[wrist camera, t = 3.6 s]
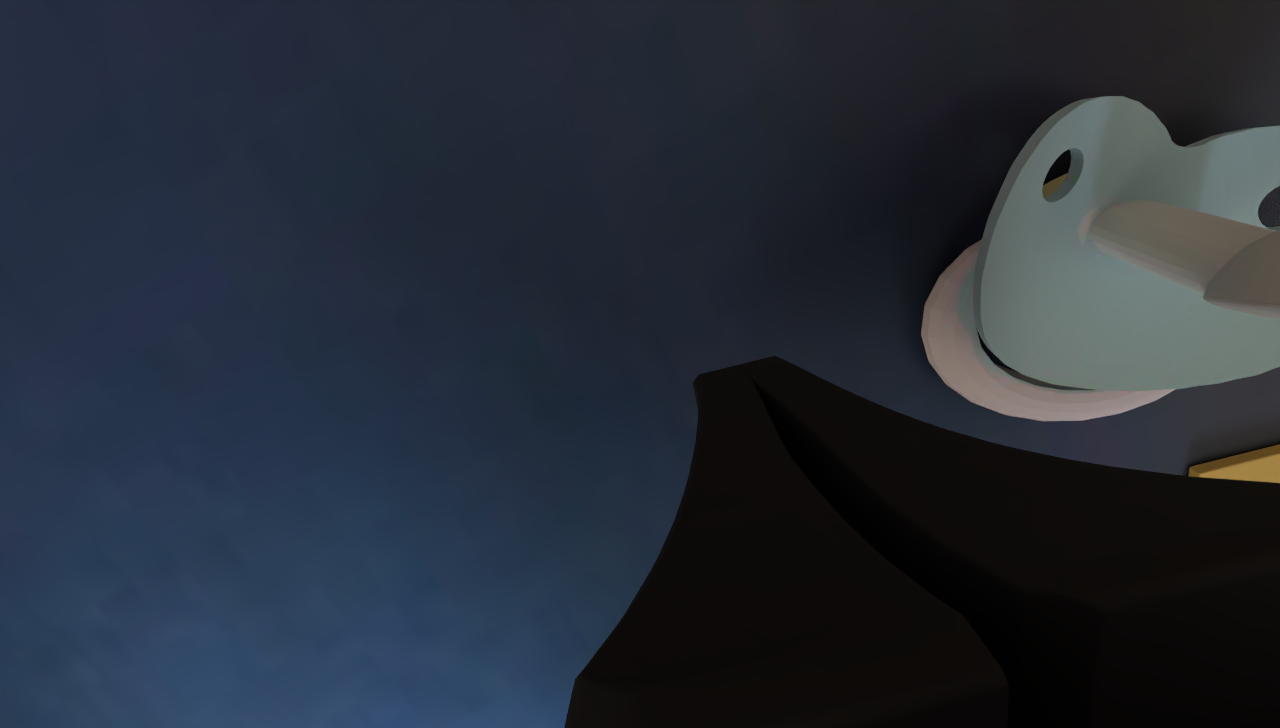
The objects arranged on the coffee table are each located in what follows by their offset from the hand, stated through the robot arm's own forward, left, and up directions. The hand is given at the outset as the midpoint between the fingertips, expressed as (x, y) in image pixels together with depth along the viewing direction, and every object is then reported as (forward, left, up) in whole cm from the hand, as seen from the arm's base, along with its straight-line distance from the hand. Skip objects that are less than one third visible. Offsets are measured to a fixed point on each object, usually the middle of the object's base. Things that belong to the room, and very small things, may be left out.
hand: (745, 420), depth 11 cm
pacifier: (+7, 0, -3) cm, 8 cm away
